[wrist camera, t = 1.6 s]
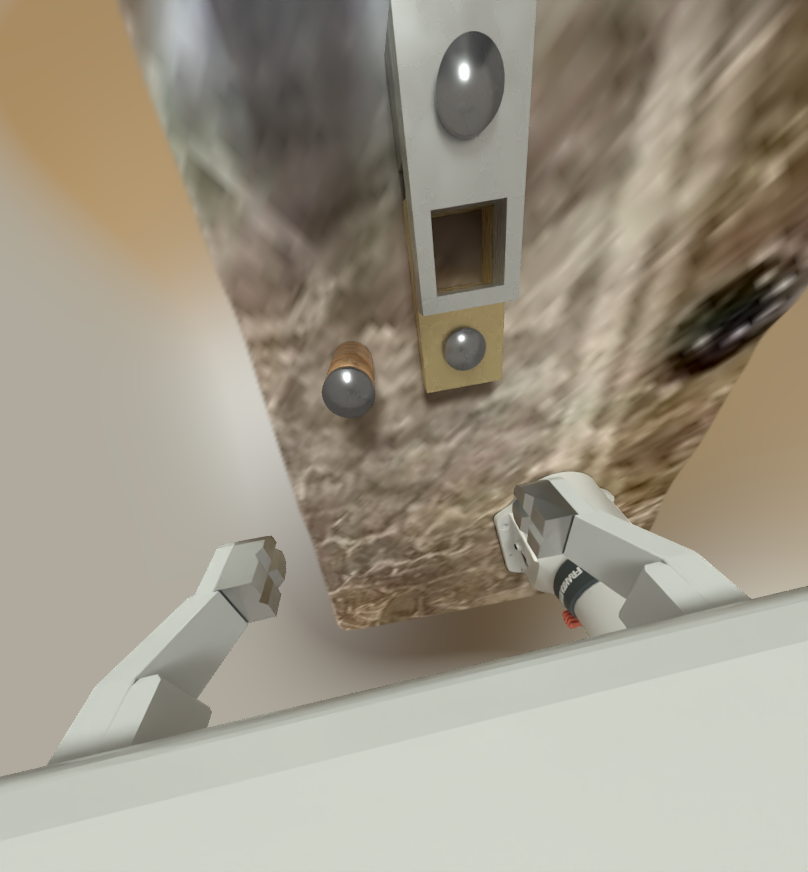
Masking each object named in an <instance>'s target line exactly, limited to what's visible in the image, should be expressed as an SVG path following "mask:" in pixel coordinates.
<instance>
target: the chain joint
mask: <svg viewBox="0 0 808 872" xmlns="http://www.w3.org/2000/svg"><path fill="white" fill-rule="evenodd" d="M535 16H536V0H389V11H388V22H387V33H386V44H385V63H386V71H387V80H388V89H389V97H390V106H391V114H392V123H393V131H394V140H395V148H396V157H397V165H398V172H401V171H403V174H404V183H405V193H406V198H405V200H404V202H403V203H402V208H403V217H404V225H405V234H406V242H407V251H408V259H409V268H410V276H411V285H412V293H413V302H414V311H415V319H416V328H417V336H418V345H419V353H420V362H421V370H422V379H423V386H424V388H425V390H426V392H427V393H431V392H437V391H442V390H448V389H453V388H459V387H464V386H469V385H475V384H480V383H486V382H491V381H497V380H502V355H503V328H504V302H506V301H512V300H518V297H519V280H520V264H521V247H522V231H523V214H524V198H525V181H526V165H527V148H528V132H529V115H530V98H531V82H532V65H533V49H534V32H535ZM477 210H482V282H479V283H473V284H467V285H462V286H456V287H450V288H445V289H439V290H436V277H435V264H434V251H433V238H432V225H431V218H435V217H441V216H447V215H453V214H459V213H465V212H471V211H477Z"/></svg>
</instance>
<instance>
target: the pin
mask: <svg viewBox="0 0 808 872" xmlns="http://www.w3.org/2000/svg"><path fill="white" fill-rule="evenodd" d="M322 397H323V400H324V403H325V404H326V406H327V407H328V408H329V410H330V411H332V412H333V413H335V414H336V415H338V416H341V417H346V418H354V417H358V416H361V415H363V414H365V413H366V412H367V411H368V410H369V409H370V408H371V406H372V405H373V402H374V398H375V389H374V376H373V363H372V356H371V353H370V352H369V350H368V349H367V348H366V347H365V346H364V345H362V344H361V343H358V342H352V341H351V342H345V343H343V344H341V345H340V346H339V347H338V348H337V349H336V351H335V353H334V356H333V359H332V362H331V365H330V367H329V370H328V373H327V376H326V379H325V382H324V385H323V388H322Z"/></svg>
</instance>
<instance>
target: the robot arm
mask: <svg viewBox="0 0 808 872" xmlns="http://www.w3.org/2000/svg"><path fill="white" fill-rule="evenodd" d="M514 495H515V497H516V499H515V500H514V501H513V502H512V503H511V504H510V505H509V506H508V507H506V508H505V509H503V510H501V511H500V512H499V513H497V514H496V515H495V517H494V522H495V526H496V530H497V534H498V538H499V541H500V545H501V549H502V553H503V557H504V560H505V564H506V567H507V568H508V570H509V571H512V572H518V573H525V575H526V577H527V579H528V580H529V582H530V584H531V585H532V587H533V588H534V589H536V590H538V591H541V592H546V593H550V594H554V595H556V596H557V598H558V599H559V600H560V602H561V604H562V605H563V606H564V607H566V608H567V611H563V617H564V620H565V623H566V624H567V626H568V627H569V628H570V629H572V628H576V627H578V626H583V628H584V630H585V631H586V633H587V635H588V636H589V638H585V639H581V640H577V641H573V642H568V643H564V644H560V645H556V646H551V647H547V648H543V649H539V650H534V651H530V652H526V653H522V654H517V655H513V656H509V657H505V658H501V659H496V660H492V661H488V662H483V663H480V664H475V665H471V666H467V667H463V668H458V669H454V670H450V671H446V672H441V673H437V674H433V675H429V676H424V677H420V678H416V679H412V680H407V681H403V682H399V683H394V684H390V685H386V686H382V687H378V688H373V689H369V690H365V691H361V692H356V693H352V694H348V695H344V696H340V697H335V698H331V699H327V700H323V701H318V702H314V703H310V704H306V705H301V706H297V707H293V708H289V709H284V710H280V711H276V712H272V713H268V714H263V715H259V716H255V717H251V718H246V719H242V720H238V721H234V722H229V723H225V724H221V725H217V726H213V727H208V728H207V726H208V723H209V720H210V716H211V713H212V711H211V709H210V707H208V706H207V705H205V704H204V703H202V702H201V701H199V700H198V699H197V698H198V696H199V695H200V694H201V692H202V691H203V689H204V688H205V686H206V685H207V683H208V682H209V681H210V679H211V678H212V676H213V675H214V673H215V672H216V670H217V669H218V668H219V666H220V665H221V663H222V662H223V661H224V659H225V658H226V656H227V655H228V653H229V652H230V650H231V649H232V648H233V646H234V645H235V643H236V642H237V640H238V639H239V638H240V636H241V635H242V633H243V632H244V630H245V629H246V627H247V626H248V623H251V622H255V621H259V620H263V619H267V618H271V617H275V616H276V615H277V611H278V606H279V602H280V597H281V593H280V592H279V590H278V587H279V586H280V585H281V584H282V583H283V581H284V579H285V574H286V561H285V557H284V555H283V553H282V551H280V550H278V549H276V548H275V546H276V541H275V540H274V538H273V537H272V536H265V537H260V538H255V539H249V540H243V541H238V542H233V543H228V544H222V545H221V546H220V547H219V548H217V550H216V552H215V554H214V556H213V558H212V560H211V562H210V564H209V567H208V569H207V570H206V573H205V575H204V577H203V579H202V581H201V583H200V585H199V587H198V589H197V591H196V593H195V595H194V596H192V597H189V598H188V599H187V600H186V601H184V602H183V603H182V604H181V605H180V606H179V607H178V608H177V609H176V610H175V611H174V612H173V613H172V614H171V615H170V616H169V617H168V618H167V619H165V620H164V621H163V622H162V623H161V624H160V625H159V626H158V627H157V628H156V629H155V630H154V631H153V632H152V633H151V634H150V635H149V636H148V637H147V638H146V639H145V640H143V641H142V642H141V643H140V644H139V645H138V646H137V647H136V648H135V649H134V650H133V651H132V652H131V653H130V654H129V655H128V656H127V657H126V658H125V659H123V660H122V661H121V662H120V663H119V664H118V666H116V667H115V668H114V669H113V670H112V671H111V672H110V673H109V674H108V675H107V676H106V677H105V678H103V679H102V680H101V681H100V682H99V683H98V685H96V686H95V688H94V689H93V691H92V693H91V694H90V696H89V697H88V699H87V701H86V702H85V704H84V706H83V707H82V709H81V710H80V712H79V714H78V715H77V717H76V718H75V720H74V722H73V724H72V725H71V727H70V728H69V730H68V732H67V733H66V735H65V736H64V738H63V740H62V741H61V743H60V745H59V746H58V748H57V749H56V751H55V753H54V754H53V756H52V758H51V759H50V761H49V763H48V765H47V766H43V767H40V768H35V769H31V770H27V771H22V772H18V773H14V774H10V775H5V776H1V777H0V872H808V586H806V587H801V588H797V589H793V590H789V591H784V592H780V593H776V594H772V595H767V596H764V597H759V598H755V599H751V598H749V597H748V596H747V595H746V594H745V593H744V592H742V591H741V590H740V589H739V588H738V587H737V586H735V585H734V584H733V583H732V582H731V581H730V580H728V579H727V578H726V577H725V576H724V575H722V574H721V573H720V572H719V571H718V570H717V569H716V568H714V567H713V566H712V565H711V564H710V563H709V562H707V561H706V560H705V559H704V558H703V557H702V556H700V555H699V554H698V553H697V552H695V551H693V550H690V549H688V548H686V547H683V546H681V545H679V544H677V543H674V542H672V541H669V540H667V539H665V538H663V537H661V536H658V535H656V534H653V533H651V532H649V531H647V530H645V529H642V528H640V527H638V526H635V525H633V524H631V523H630V521H629V520H628V519H627V518H626V517H625V516H624V514H623V513H622V512H621V511H620V510H619V509H618V508H617V506H616V505H615V504H614V503H613V502H614V497H613V495H612V494H611V493H610V492H609V491H607V490H604V489H601V488H599V487H598V485H597V484H596V482H595V481H594V480H593V479H592V478H591V477H590V476H588V475H586V474H583V473H579V472H561V473H556V474H553V475H549V476H547V477H544V478H542V479H540V480H538V481H533V482H529V483H524V484H519V485H516V486H515V488H514Z"/></svg>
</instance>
